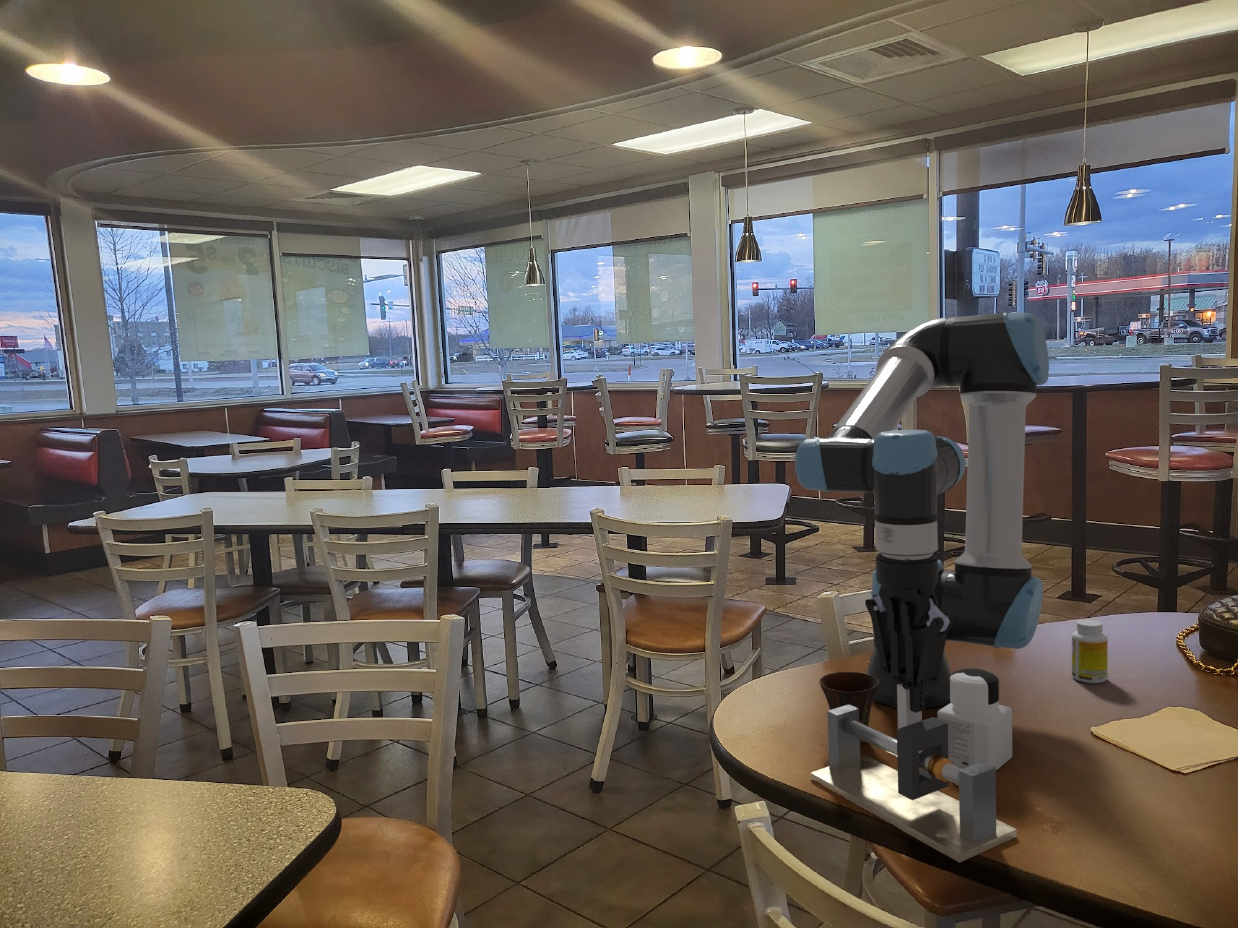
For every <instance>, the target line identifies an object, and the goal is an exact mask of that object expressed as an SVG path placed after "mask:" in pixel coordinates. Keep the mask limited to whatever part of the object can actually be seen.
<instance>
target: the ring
mask: <svg viewBox="0 0 1238 928" xmlns="http://www.w3.org/2000/svg"><path fill="white" fill-rule="evenodd" d="M896 739H897V756H896V759H897V760H896V761H897V762H896V764H897V771H898V793H899V794H901V795H903V796H905V797H907V798H909V799H911V800H915V799H918V798H920V797H923V796H925V795H928V794H930V793H933V792H936V791H941V790H943V789H946V788H948V787H950V781H948V782H944V781H942V780H940V779H937V778H935V777H933V776H931V775H930V774H929V773H928V771H927V770H925V769H923V768H921V769H920V767H919V752H921V751H926V753H928V754H930V755H933V756H934V755H940V756H942V757H944V758H946V759H948V723H947V722H944V721H942V720H939V719H938V717H934V716H932V717H930V718H927V719H923V720H922V721H920V722H917V723H914V724H911V725H908V726H905V727H902V728H899V729H898V728H897V729H896Z"/></svg>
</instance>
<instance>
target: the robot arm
mask: <svg viewBox="0 0 1238 928" xmlns="http://www.w3.org/2000/svg"><path fill="white" fill-rule="evenodd" d="M1045 335H1046V334H1045V331H1044V329H1043V327H1042V323H1041V321H1040V320H1039V318H1038V317H1037V316H1035V315H1034V314H1033V313H1030V312H1007V311H1004V312H1001V313H998V312H997V313H989V314H988V313H987V314H977V315H966V316H953V317H952V316H948V317H941V318H935V319H932V320H928V321H926V322H924V323H922V324H920V325H918V326H915V327H913V328H912V329H910V330H909V331H907V332H905V333H904V334H902V335H901V336H900V337H898V338H897V339H895V340H894V341H893V342H891V344H890V345H889V346H888V347H887V348H886V349H885V350H884V351H883V353H882V354H881V355H880V357H879V358H878V360H877V362H876V368H875V371H876V372H875V374H874V375H872V377H871V379H870V380H869V381H868V383H867V384H866V385H865V387H864V388H863V390H862V391H860V393H859V395H858V396H857V398H855V400H854V401H853V402H852V404H851V405H850V407H848V409H847V410H846V412H845V413H844V414H843V416H842V417H841V418H840V420H839V421H838V423H837V424H836V425H835V426H834V427H833V429H832V430H831V432H829V434H828V435H827V437H826V438H825V437H824V438H823V437H822V438H821V437H819V436H818V437H816V438H815V437H814V438H807V439H805V440H802V442H800V444H799V445H798V447H797V450H796V452H795V457H794V458H795V460H794V461H795V462H794V469H795V474H796V478H797V482H798V483H799V484H800V485H801V487H803V488H804V489H806V490H811V491H819V492H820V491H821V492H826V493H830V492H832V493H833V492H834V493H835V492H836V493H837V492H839V493H868V494H869V493H871V494H872V493H873V496H874V531H875V534H874V535H875V550H877V552H879V553H878V554H877V555H876V556H875V569H874V571H873V572H872V577H871V578H872V579H871V580H872V583H871V586H872V587H871V591H870V595H871V598H867V599H865V600H864V604H865V608H866V610H867V611H868V614H869V616H870V619H871V625H872V637H873V639H872V640H873V649H872V653H871V656H870V658H869V663H868V666H867V671H866V673H865V674H868V675H871V676H873V677H875V678H877V679H878V681H879V685H878V688H877V691H876V693H875V696H874V699H873V701H875V702H877V703H880V704H883V705H887V706H890V707H895V708H897V729H899V728H902V727H905V726H908V725H911V724H914V723H917V722H920V721H923V720H922V719H923V718H922V717H923V716H922V714H923V713H922V711H924V710H925V709H931V708H937V707H938V708H939V707H942V706H946V705H948V704H950V703H951V701H950V676H951V675H952V672H951V669H950V666H949V662H948V658H947V657H946V653H945V646H946V642H947V641H949V642H955V643H963V644H964V643H965V644H974V645H978V646H979V645H981V646H988V647H989V646H990V647H993V648H994V649H1000V648H1003V649H1004V648H1005V649H1015V650H1016V649H1017V650H1019V649H1023V648H1025V647H1027V646H1028V645H1029V644H1030V643H1031V641H1032V639H1033V638H1034V636H1035V632H1036V631H1037V627H1038V625H1039V620H1040V616H1041V610H1042V605H1043V597H1044V593H1043V586H1044V585H1043V582H1042V580H1041V578H1038V577H1037V576H1032V569H1033V568H1032V564H1031V563H1030V561H1028V560H1027V559H1026V558H1025V557H1024V556H1023V548H1022V547H1023V523H1024V522H1023V521H1024V520H1023V519H1024V517H1023V515H1024V487H1025V486H1024V485H1025V483H1024V480H1025V452H1026V451H1025V450H1026V446H1025V445H1026V416H1027V415H1026V412H1027V411H1026V410H1027V409H1026V408H1027V407H1028V405H1029V404H1030V403H1032V401H1033V400H1035V398H1037V388H1038V386H1042V385H1044V384H1046V383H1047V382H1048V380H1049V372H1050V361H1049V352H1048V346H1047V340H1046V339H1047V338H1046V336H1045ZM941 387H952V388H953V387H955V388H956V387H959V398H960V399H961V400H962V401H963V402H964V403H966V404H967V406H968V411H969V412H968V433H967V434H968V436H967V438H968V439H967V440H968V441H967V459H966V457H965V454H964V451H963V449H962V448H961V447H960V445H959V444H957V442H955V441H954V440H952V439H950V438H948V437H945V436H935V434H934V433H932V431H930V430H925V429H924V430H923V429H898V430H897V429H896V428H897V427H898V426H899V424H900V423H901V422H902V420H903V419H904V416H905V415H906V413H907V412H908V411H909V409H910V408H911V406H912V405H913V404H914V402H915V400H916V398H919V397H921V396H923V395H925V394H927V392H928V391H929V390H930V389H935V388H941ZM966 460H967V461H966ZM966 466H967V469H966ZM966 470H967V474H966V475H967V476H966V501H965V503H966V504H965V506H966V507H965V508H966V512H965V540H964V541H965V542H964V544H965V545H964V552H963V553H962V554H961V555H959V557H957V559H955V560H954V570H946V569H944V568H945V567H944V564H943V561H941V559H939V557H938V556H937V554H935V553H936V552H937V551H938V550H939V541H938V537H939V536H938V495H940V494H943V493H945V492H948V491H950V490H951V489H953V488H954V487H955V485H956V484H958V483H959V482H960V481H961V480H962V478H963V476H964V474H965V472H966Z"/></svg>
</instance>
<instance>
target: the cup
mask: <svg viewBox="0 0 1238 928" xmlns="http://www.w3.org/2000/svg"><path fill="white" fill-rule="evenodd" d="M818 683H819V684H820V687H821V691H822V692H823V694H824V697H825V699H826V701H827V705H828V709H829V710H832V709H835V708H839V707H842V706H845V705H848V704H849V705H851V706H854V707H856V708H858V709H859V723H861V724H863V725H866V726H868V727H869V723H870V722H869V721H870V716H871V710H872V706H873V701H874V700H873V699H874V696H875V693H876V691H877V688H878V685H879V681H878V679H877V678H875V677H873V676H871V675H868V674H866V673H863V672H858V671H837V672H832V673H828V674H825V675H823V676H822V677H821V678H819V682H818ZM860 743H861V744H864V743H866V742H865V741H863V740H861V739H860Z"/></svg>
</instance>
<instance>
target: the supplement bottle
mask: <svg viewBox="0 0 1238 928" xmlns="http://www.w3.org/2000/svg"><path fill="white" fill-rule="evenodd" d="M1071 676H1072V678H1073V679H1075V680H1076V681H1078V682H1081V683H1084V684H1085V683H1086V684H1091V685H1092V684H1093V685H1094V684H1095V685H1096V684H1101V683H1105V682H1106V681H1107V680H1108V636H1107V634H1106V633H1105V632H1103V623H1102V622H1101V621H1099V620H1095V619H1078V620H1077V622H1076V630H1074V631H1073V632H1072V633H1071Z"/></svg>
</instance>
